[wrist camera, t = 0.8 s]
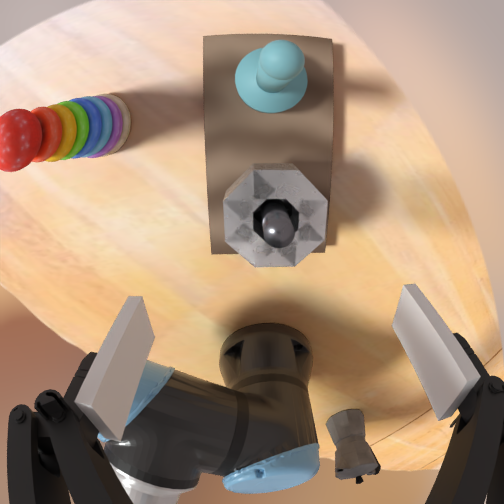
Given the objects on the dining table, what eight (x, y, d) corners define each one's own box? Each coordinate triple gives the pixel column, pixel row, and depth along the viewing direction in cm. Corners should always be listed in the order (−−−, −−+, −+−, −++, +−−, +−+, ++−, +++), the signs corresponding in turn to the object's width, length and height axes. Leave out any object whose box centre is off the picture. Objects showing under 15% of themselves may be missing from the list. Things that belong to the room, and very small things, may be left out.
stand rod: (293, 220, 33) (312, 265, 24) (245, 221, 33) (243, 266, 24) (294, 173, 31) (317, 199, 21) (244, 173, 31) (242, 199, 21)
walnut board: (321, 245, 37) (324, 252, 35) (213, 247, 37) (211, 254, 35) (327, 43, 26) (331, 39, 24) (205, 40, 26) (203, 36, 24)
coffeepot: (311, 423, 56) (321, 490, 40) (340, 403, 53) (357, 474, 37) (353, 432, 60) (367, 489, 44) (380, 414, 57) (399, 473, 41)
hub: (302, 114, 28) (339, 110, 16) (236, 113, 28) (227, 107, 16) (301, 55, 25) (337, 14, 13) (236, 53, 25) (227, 9, 13)
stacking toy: (113, 81, 27) (7, 67, 10) (145, 128, 30) (48, 146, 13) (70, 122, 29) (-38, 143, 12) (100, 167, 32) (-1, 216, 15)
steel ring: (313, 248, 31) (321, 266, 27) (228, 249, 31) (226, 267, 27) (318, 164, 27) (329, 170, 23) (225, 163, 27) (221, 170, 23)
